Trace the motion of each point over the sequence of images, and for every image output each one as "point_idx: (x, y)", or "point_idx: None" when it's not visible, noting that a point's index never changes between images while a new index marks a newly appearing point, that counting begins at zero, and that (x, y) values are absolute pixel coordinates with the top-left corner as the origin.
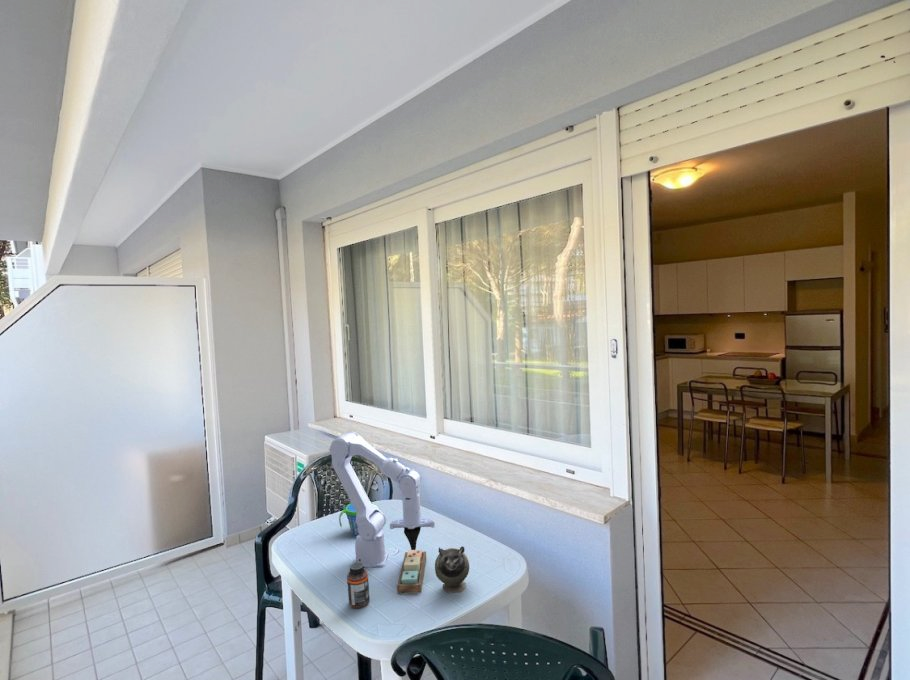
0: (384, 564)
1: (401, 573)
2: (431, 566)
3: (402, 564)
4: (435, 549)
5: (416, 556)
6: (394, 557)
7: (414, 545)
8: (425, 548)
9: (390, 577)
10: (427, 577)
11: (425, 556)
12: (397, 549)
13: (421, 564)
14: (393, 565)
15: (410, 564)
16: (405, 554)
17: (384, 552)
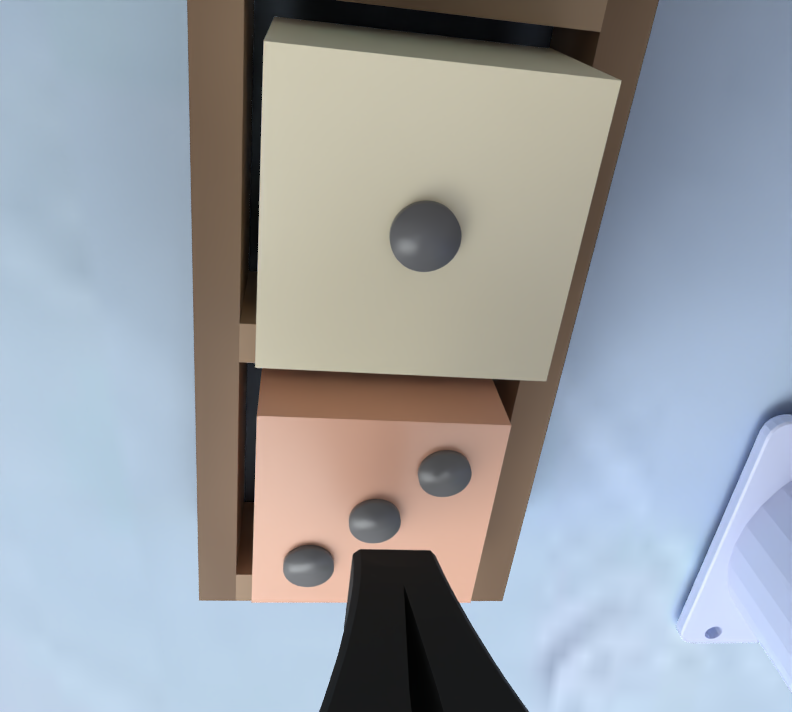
0: (768, 433)
1: (629, 4)
2: (111, 342)
3: (574, 312)
4: (116, 677)
5: (335, 448)
6: (609, 572)
7: (375, 616)
8: (243, 697)
9: (736, 138)
10: (133, 28)
11: (200, 502)
12: (559, 694)
13: (239, 267)
14: (645, 423)
15: (465, 77)
16: (503, 556)
17: (786, 603)
